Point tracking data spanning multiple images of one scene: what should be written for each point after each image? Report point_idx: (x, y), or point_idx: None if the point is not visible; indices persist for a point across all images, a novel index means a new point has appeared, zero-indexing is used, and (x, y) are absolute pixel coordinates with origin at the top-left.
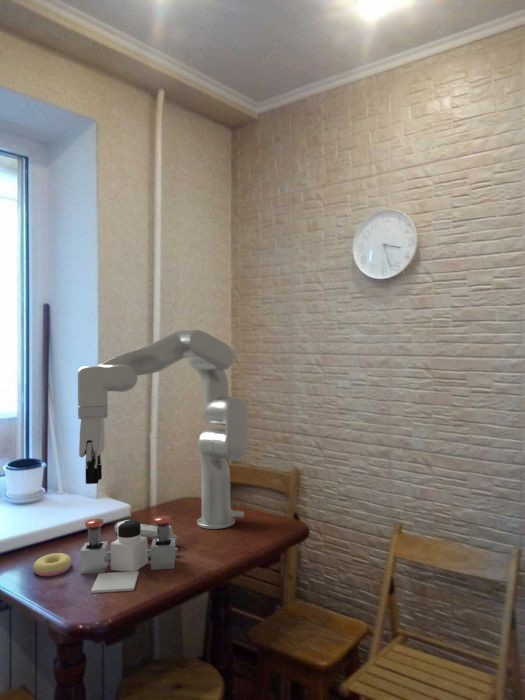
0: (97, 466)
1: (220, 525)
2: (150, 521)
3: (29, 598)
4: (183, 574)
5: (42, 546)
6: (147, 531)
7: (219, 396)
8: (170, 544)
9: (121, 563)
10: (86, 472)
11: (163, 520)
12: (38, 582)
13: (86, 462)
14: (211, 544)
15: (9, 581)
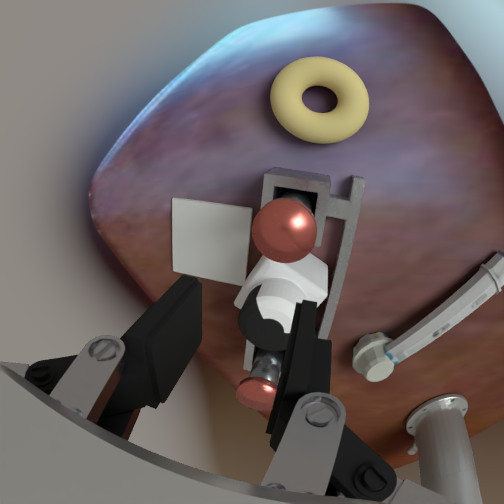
0: (270, 417)
1: (408, 422)
2: None
3: (175, 87)
4: (225, 346)
5: (476, 78)
6: (415, 330)
7: None
8: (252, 365)
9: (259, 261)
10: (144, 321)
11: (238, 394)
12: (249, 82)
13: (33, 367)
14: (345, 402)
15: (270, 24)
